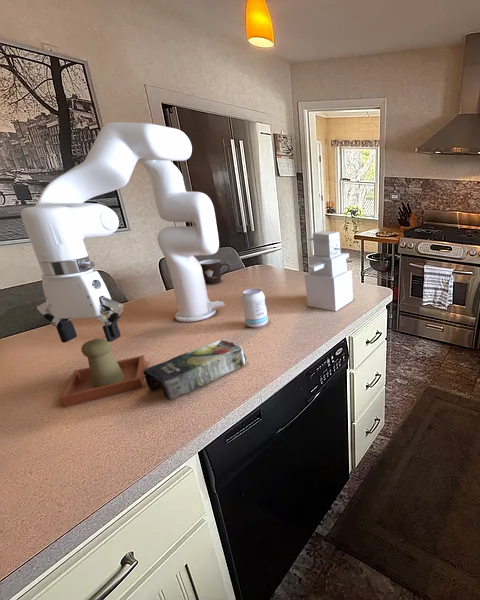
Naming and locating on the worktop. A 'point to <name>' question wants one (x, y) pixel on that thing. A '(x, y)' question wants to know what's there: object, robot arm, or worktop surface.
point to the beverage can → (254, 308)
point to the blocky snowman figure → (328, 273)
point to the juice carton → (195, 368)
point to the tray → (84, 391)
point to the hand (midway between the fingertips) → (92, 339)
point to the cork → (102, 363)
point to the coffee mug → (212, 271)
